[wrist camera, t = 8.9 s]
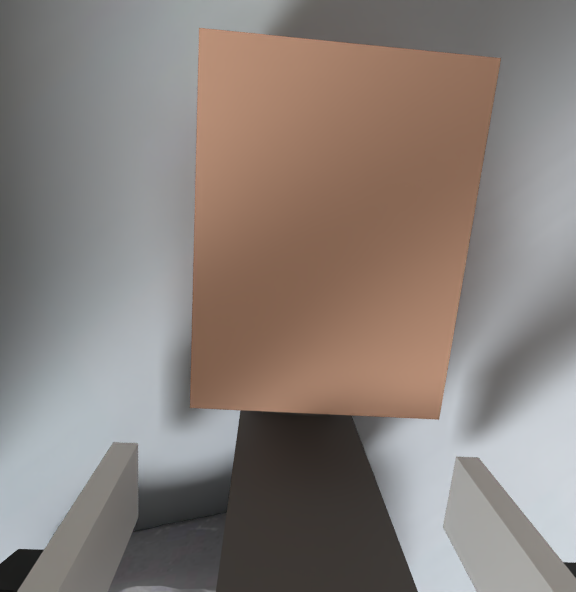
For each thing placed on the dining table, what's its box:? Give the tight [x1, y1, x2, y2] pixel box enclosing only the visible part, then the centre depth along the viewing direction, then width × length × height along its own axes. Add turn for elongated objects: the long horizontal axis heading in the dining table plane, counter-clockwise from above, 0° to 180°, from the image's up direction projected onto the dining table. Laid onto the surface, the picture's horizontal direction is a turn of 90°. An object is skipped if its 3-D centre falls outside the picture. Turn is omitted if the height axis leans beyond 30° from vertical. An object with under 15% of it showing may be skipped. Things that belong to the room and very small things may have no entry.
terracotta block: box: [190, 28, 501, 592], centre depth 11 cm, size 6×14×8 cm, turn 176°
